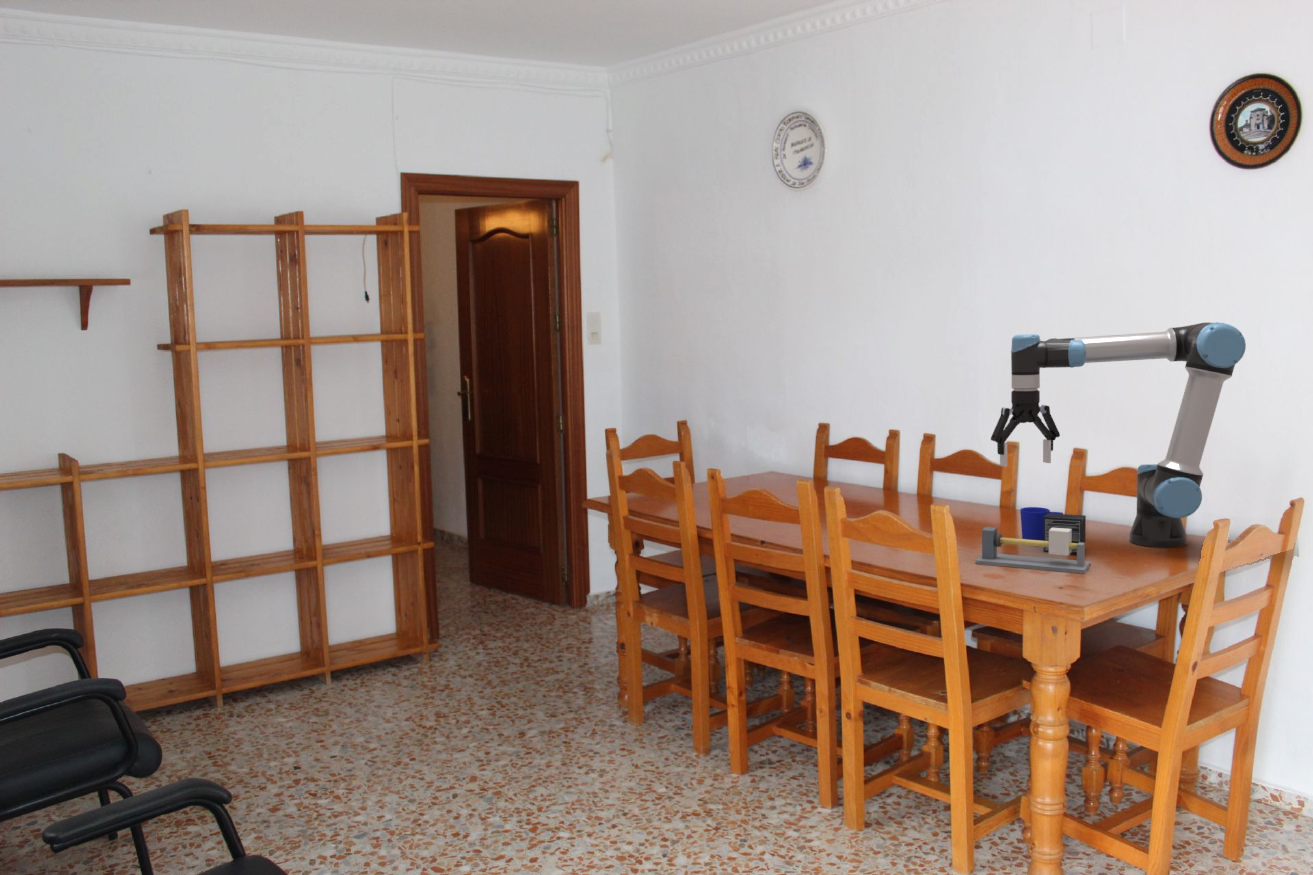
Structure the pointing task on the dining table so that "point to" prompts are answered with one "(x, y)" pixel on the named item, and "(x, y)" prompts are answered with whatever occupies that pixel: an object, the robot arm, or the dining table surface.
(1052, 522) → the small box
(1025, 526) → the mug
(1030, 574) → the dining table surface
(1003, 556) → the cord stand
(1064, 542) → the sleeve
